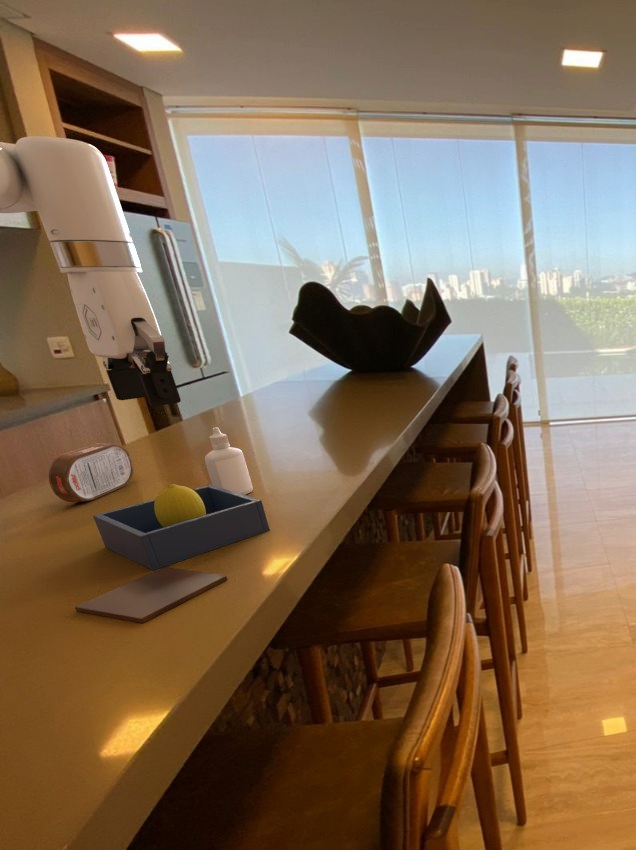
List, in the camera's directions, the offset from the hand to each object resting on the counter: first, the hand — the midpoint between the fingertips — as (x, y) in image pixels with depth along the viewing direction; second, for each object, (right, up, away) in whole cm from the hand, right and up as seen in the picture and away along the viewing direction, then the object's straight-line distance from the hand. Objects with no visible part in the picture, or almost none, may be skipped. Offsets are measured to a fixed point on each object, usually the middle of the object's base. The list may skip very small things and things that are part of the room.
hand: (148, 401), depth 75 cm
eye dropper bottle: (-6, -12, +24) cm, 27 cm away
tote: (0, -19, +7) cm, 20 cm away
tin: (-30, -12, +25) cm, 41 cm away
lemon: (0, -18, +7) cm, 20 cm away
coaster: (+8, -24, -8) cm, 27 cm away
